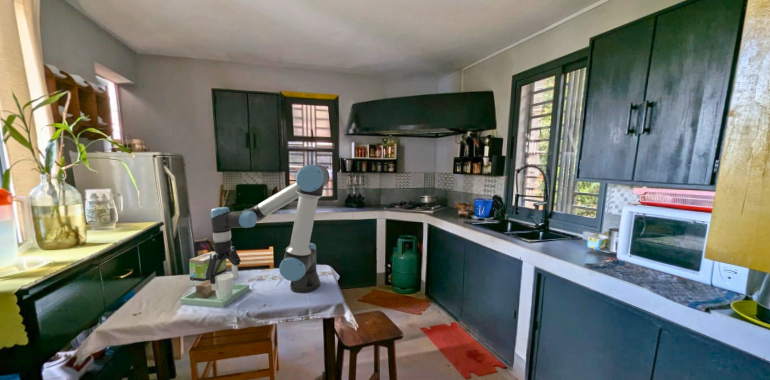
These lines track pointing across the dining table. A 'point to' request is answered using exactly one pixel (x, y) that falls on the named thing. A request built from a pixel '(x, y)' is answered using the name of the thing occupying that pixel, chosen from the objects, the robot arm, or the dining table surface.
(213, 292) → the walnut block
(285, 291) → the dining table surface
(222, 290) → the white cup
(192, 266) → the tea box
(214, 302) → the mint green serving tray
